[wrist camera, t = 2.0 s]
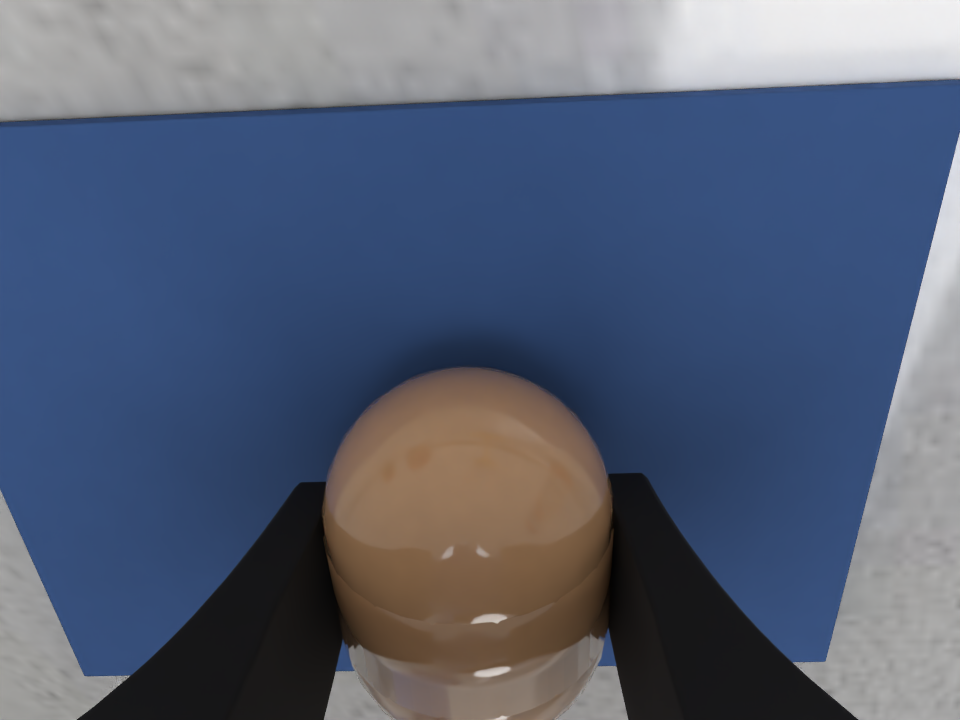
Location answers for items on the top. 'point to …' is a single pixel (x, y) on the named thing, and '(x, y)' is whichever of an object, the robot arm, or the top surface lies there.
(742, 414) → the cloth
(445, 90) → the top surface
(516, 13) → the top surface
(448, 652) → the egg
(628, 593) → the robot arm
